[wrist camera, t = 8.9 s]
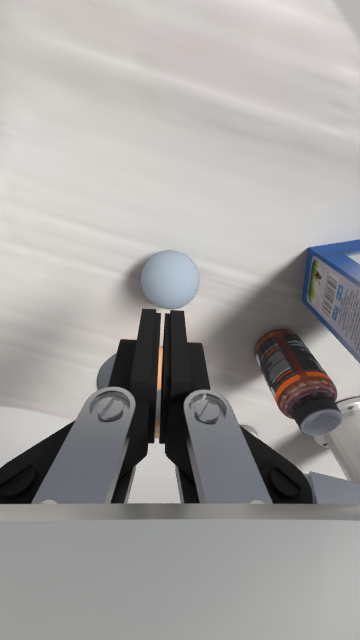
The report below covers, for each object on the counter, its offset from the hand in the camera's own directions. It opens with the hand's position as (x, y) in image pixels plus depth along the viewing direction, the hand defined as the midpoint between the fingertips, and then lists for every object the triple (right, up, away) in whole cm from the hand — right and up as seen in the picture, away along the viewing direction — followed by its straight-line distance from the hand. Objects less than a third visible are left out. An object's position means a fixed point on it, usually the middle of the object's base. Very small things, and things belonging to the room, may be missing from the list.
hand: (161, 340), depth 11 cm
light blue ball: (0, +5, +14) cm, 14 cm away
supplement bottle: (+13, -3, +23) cm, 26 cm away
